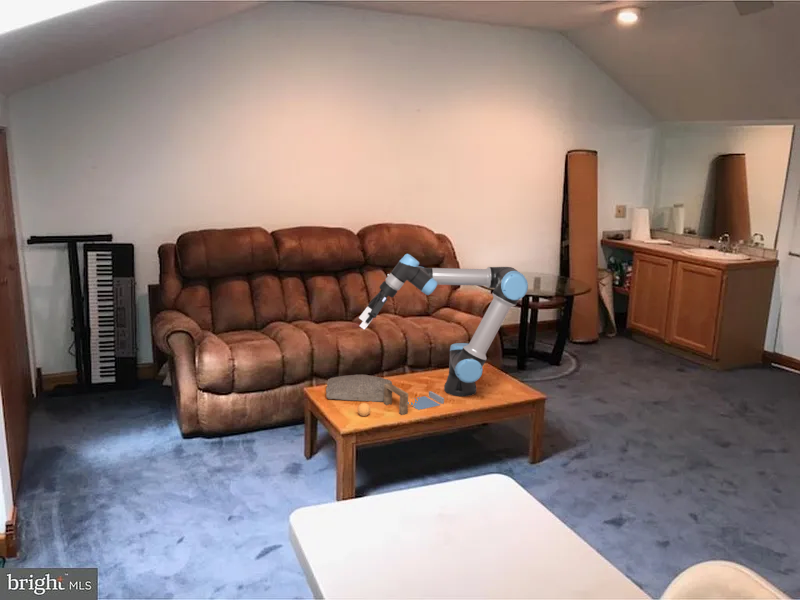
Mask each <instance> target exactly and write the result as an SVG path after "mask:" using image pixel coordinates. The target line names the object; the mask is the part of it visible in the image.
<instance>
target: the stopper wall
mask: <svg viewBox="0 0 800 600" xmlns="http://www.w3.org/2000/svg"><path fill="white" fill-rule="evenodd" d="M428 398H429V399H431V400H433V401H435V402H436V403H438V404H440V405H442V404H445V403H444V402H445V398H444V397H442V396H441V395H439V394H437V393H436V392H433V391H430V390H429V391H428Z"/></svg>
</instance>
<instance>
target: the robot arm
mask: <svg viewBox="0 0 800 600" xmlns="http://www.w3.org/2000/svg"><path fill="white" fill-rule="evenodd" d="M419 265H420V261H419V260H417V259H416V258H415V257H414V256H412V255H411V254H410V253H406V254H404V256H402V257H401V259H399V261H398V262H397V264H396V265H395V266H394V268H393V269H392V271H391V272H390V273H387V275H386V276H387V277H386V278H385V280H384V281H382V283H381V284H380V286H379V289H380V290H379V292H378V293H377V294H376V295H375V296H374V297H373V298H372V299H371V300H370V301H369V302H368V305H367V306H366V307H365V309H364V310H363V311H362V313H361V314H360V315H359V316H358V319H359V320H361V323H360V324H359V327H360V328H361V329H363V330H365V329H366V328H368V326H369V325H370V323H371V322H372V321H373V319H374V318H375V319H376V318H377V316H378V315H379V312H381V311H382V310H381V309H382V308H383V306H385V303H387V301H388V297H390V298H394V297H395V295H396V294H397V293H398V291H400V289H401V288H402V287H403V286H404V284H405V283H406V282H408V283H410V284H411V285H413V286H414V287H415V288H416V289H418V290H419V291H420V292H421V293H423V294H424V295H426V296H429V295H431V294H432V293H434V291H435V290H436V288H437V287H438V285H440V286H485V287H486V288H487V289H493V291H492V297H493V298H492V300H491V302H490V304H489V306H488V308H487V309H486V311H485V313H484V315H483V317H482V318H481V321H480V322H479V323H478V326H477V328H476V329H475V332H474V333H473V335H472V337H471V339H470V341H469V343H468V342H467V343H466V342H458V343H457V342H455V343H453V344H451V345H450V347H449V365H448V376H447V378H446V381H445V384H444V385H443V386H444V388H443V391H444V393H446V394H448V395H451V396H453V397H454V396H455V397H471V396H475V394H476V393H477V385H476V382H477V381H478V380H479V379H480V378H481V377H482V374H483V372H484V371H483V369H484V368H483V367H484V365H485V363H486V361H487V352H488V350H489V348H490V346H491V345H492V342H493V341H494V340H495V338H496V336H497V333H498V331H500V328H501V326H502V324H503V323H504V321H505V319H506V318H507V317H506V316H507V315H508V313H509V311H510V310H511V308H512V307H515V306H517V304H518V302H519V301H520V300H521V299H522V298H524V297H525V296H526V295H527V293H528V289H529V283H528V280H527V278H526V276H525V275H524V274H523V273H521V272H520V271H518V270H517V269H515V268H514V267H512V266H488V267H487V268H454V267H453V268H446V267H445V268H443V267H442V268H441V267H424V266H419Z"/></svg>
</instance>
